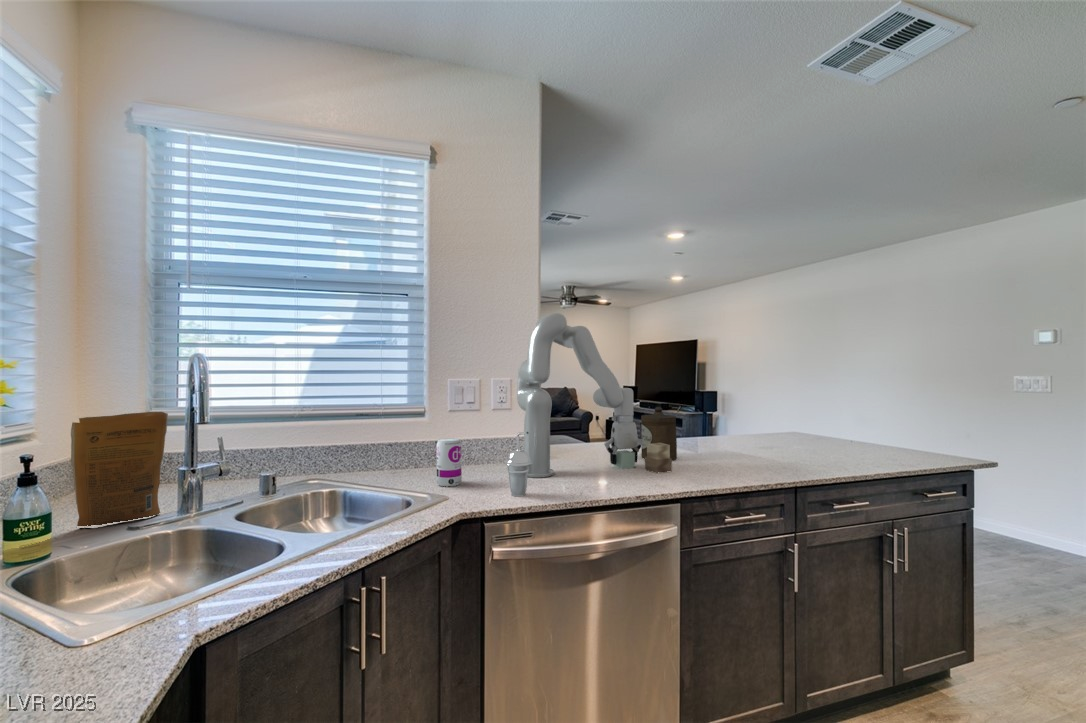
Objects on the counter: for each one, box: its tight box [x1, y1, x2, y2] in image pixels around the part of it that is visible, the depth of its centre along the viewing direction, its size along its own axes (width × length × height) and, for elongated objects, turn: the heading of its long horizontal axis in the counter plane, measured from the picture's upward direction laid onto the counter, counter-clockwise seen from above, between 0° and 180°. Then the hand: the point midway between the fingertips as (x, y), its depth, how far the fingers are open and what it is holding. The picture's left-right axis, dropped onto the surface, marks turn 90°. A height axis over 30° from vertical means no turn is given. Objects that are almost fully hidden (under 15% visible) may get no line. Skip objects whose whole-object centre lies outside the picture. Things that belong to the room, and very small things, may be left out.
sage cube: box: [612, 449, 636, 470], centre depth 192 cm, size 6×6×6 cm
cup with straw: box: [504, 431, 532, 497], centre depth 151 cm, size 8×9×20 cm
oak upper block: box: [647, 443, 670, 460], centre depth 185 cm, size 6×6×5 cm
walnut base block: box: [644, 457, 673, 474], centre depth 185 cm, size 7×7×5 cm
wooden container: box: [640, 406, 678, 461], centre depth 210 cm, size 15×15×22 cm
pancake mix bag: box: [70, 411, 169, 527], centre depth 125 cm, size 7×19×28 cm, turn 137°
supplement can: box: [436, 437, 463, 488], centre depth 165 cm, size 8×8×15 cm
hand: (624, 462), depth 192 cm, fingers open, 9 cm apart
